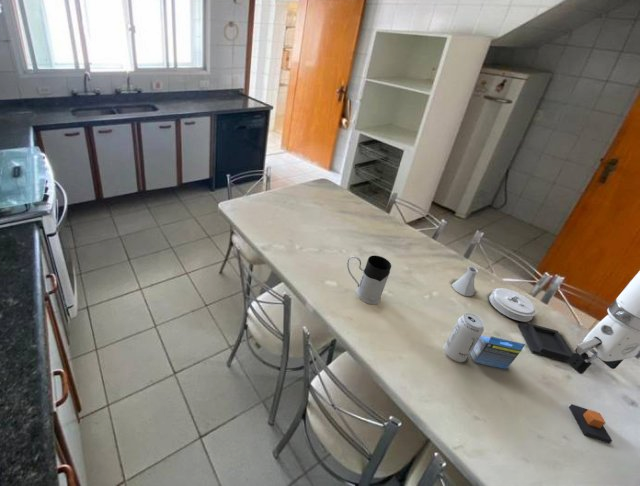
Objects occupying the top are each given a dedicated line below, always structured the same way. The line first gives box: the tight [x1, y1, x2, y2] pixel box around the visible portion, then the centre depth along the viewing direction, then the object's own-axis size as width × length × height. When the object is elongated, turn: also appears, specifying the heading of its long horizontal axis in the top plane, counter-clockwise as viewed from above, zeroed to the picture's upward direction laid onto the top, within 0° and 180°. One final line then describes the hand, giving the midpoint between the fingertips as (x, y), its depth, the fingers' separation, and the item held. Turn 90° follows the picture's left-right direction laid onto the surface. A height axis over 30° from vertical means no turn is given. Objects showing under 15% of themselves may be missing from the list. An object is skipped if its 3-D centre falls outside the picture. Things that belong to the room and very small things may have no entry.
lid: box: [488, 287, 537, 323], centre depth 116 cm, size 13×13×5 cm
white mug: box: [346, 255, 392, 306], centre depth 115 cm, size 9×14×15 cm, turn 60°
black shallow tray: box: [517, 322, 574, 364], centre depth 104 cm, size 12×11×2 cm
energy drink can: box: [443, 313, 485, 363], centre depth 95 cm, size 6×6×15 cm
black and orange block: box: [568, 403, 613, 445], centre depth 81 cm, size 5×7×5 cm
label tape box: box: [469, 335, 526, 370], centre depth 94 cm, size 9×4×12 cm, turn 78°
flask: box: [451, 266, 479, 297], centre depth 121 cm, size 7×7×10 cm
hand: (590, 365), depth 79 cm, fingers open, 9 cm apart
